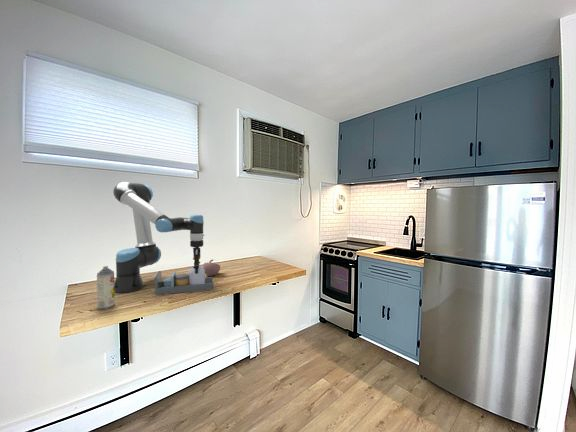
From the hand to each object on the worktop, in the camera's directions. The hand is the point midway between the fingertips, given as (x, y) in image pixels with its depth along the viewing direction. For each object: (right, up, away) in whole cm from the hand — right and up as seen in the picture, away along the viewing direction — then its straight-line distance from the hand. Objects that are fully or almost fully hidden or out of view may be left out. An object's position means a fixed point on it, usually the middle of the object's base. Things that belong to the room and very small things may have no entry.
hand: (196, 276), depth 144 cm
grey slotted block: (-5, -7, -2) cm, 9 cm away
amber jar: (-8, -7, -3) cm, 11 cm away
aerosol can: (-34, -8, -29) cm, 45 cm away
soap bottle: (0, -7, 0) cm, 7 cm away
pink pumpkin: (+1, -6, +25) cm, 25 cm away
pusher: (-14, -7, -5) cm, 16 cm away
